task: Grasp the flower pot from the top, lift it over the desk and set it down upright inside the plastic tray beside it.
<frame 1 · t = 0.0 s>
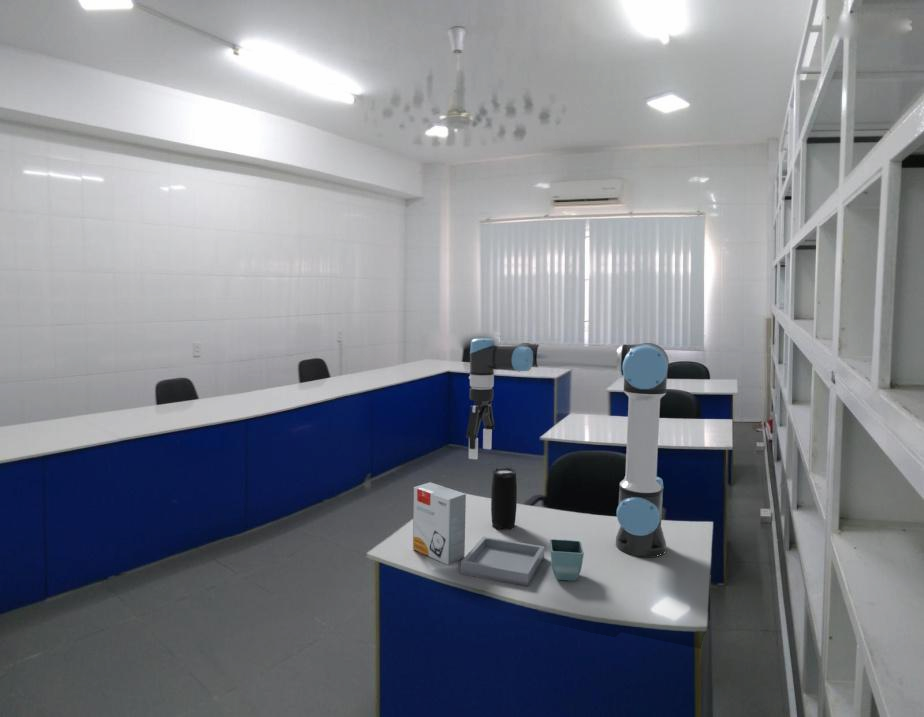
hand: (480, 453, 189), 28 cm above the table, tool pointing down, fingers open, 13 cm apart
flower pot: (565, 577, 166), on the table
tray: (503, 565, 172), on the table
portable speaker: (503, 526, 202), on the table
hard drive box: (438, 554, 180), on the table
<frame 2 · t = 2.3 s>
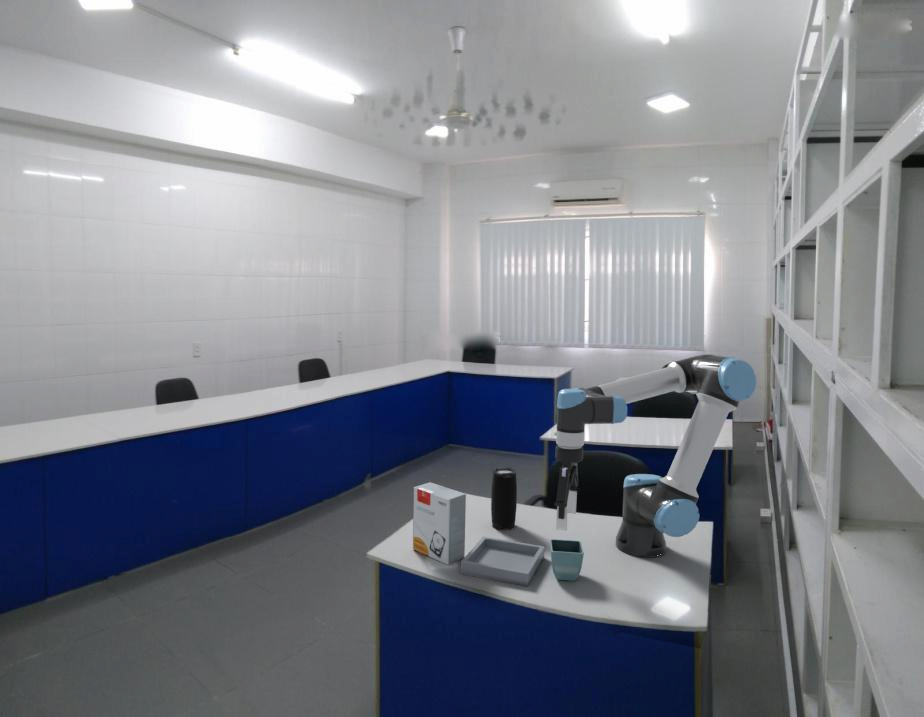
hand: (566, 521, 164), 16 cm above the table, tool pointing down, fingers open, 13 cm apart
nothing on the table moved.
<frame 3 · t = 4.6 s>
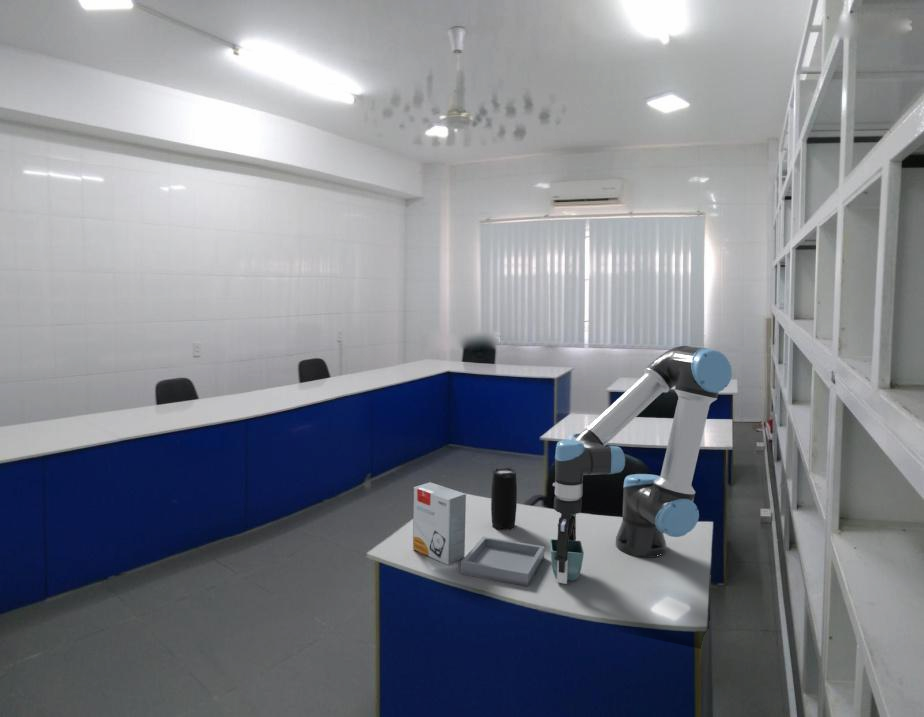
hand: (565, 574, 166), 1 cm above the table, tool pointing down, fingers closed on flower pot, 9 cm apart
flower pot: (565, 577, 166), on the table, touching gripper
everything else where it was.
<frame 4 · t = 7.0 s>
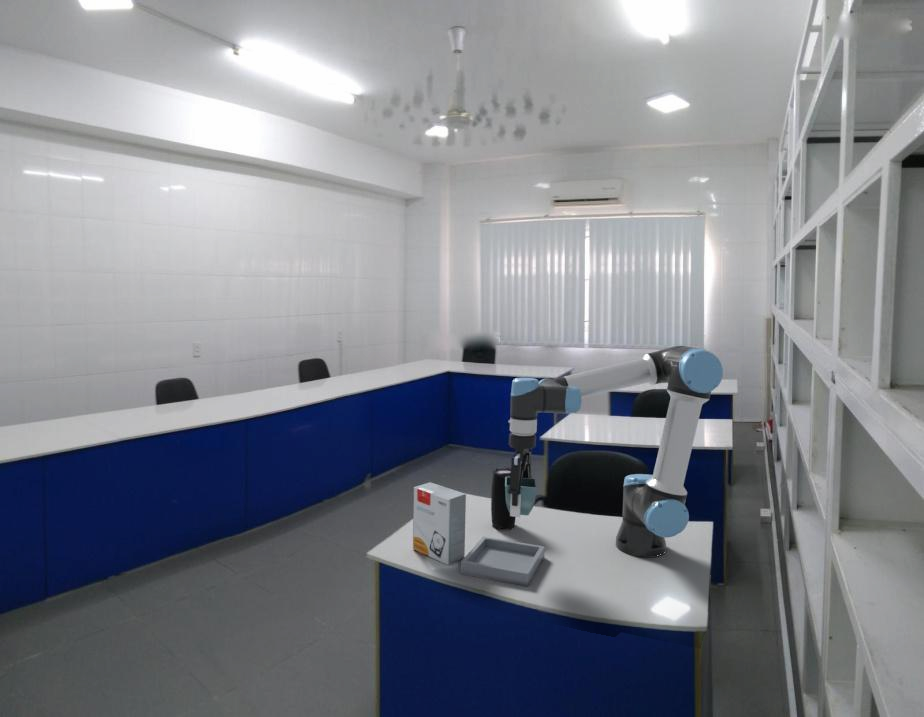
hand: (519, 510, 169), 17 cm above the table, tool pointing down, fingers closed on flower pot, 9 cm apart
flower pot: (519, 513, 169), point 16 cm above the table, touching gripper
everything else where it was.
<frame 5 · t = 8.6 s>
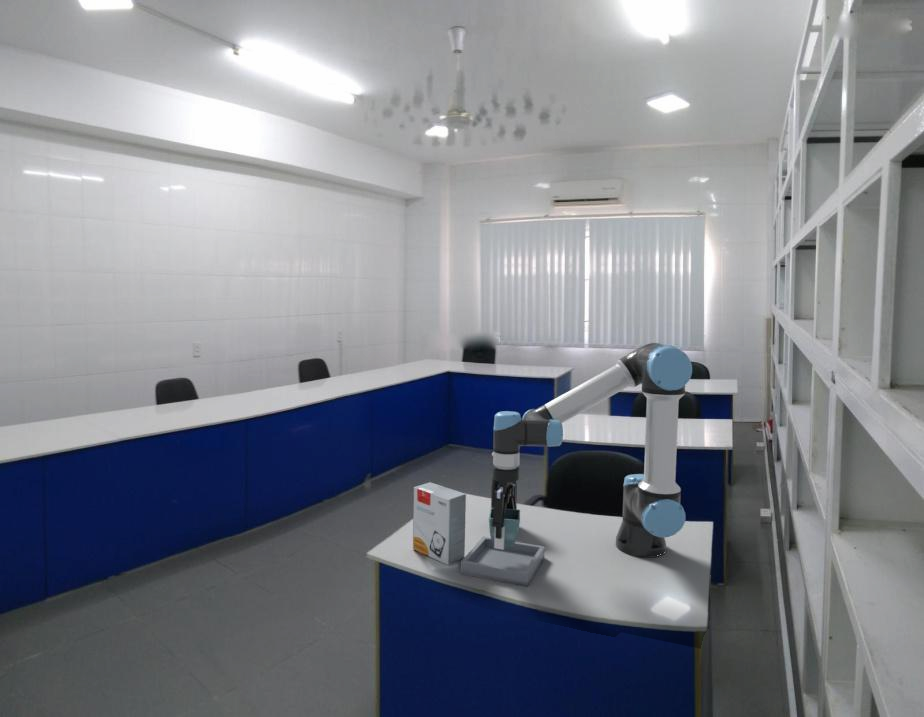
hand: (504, 541, 171), 7 cm above the table, tool pointing down, fingers closed on flower pot, 9 cm apart
flower pot: (504, 544, 172), point 6 cm above the table, touching gripper
everything else where it was.
when the fingers open (4 cm above the table, at t = 9.7 s): flower pot drops 2 cm, resting on tray.
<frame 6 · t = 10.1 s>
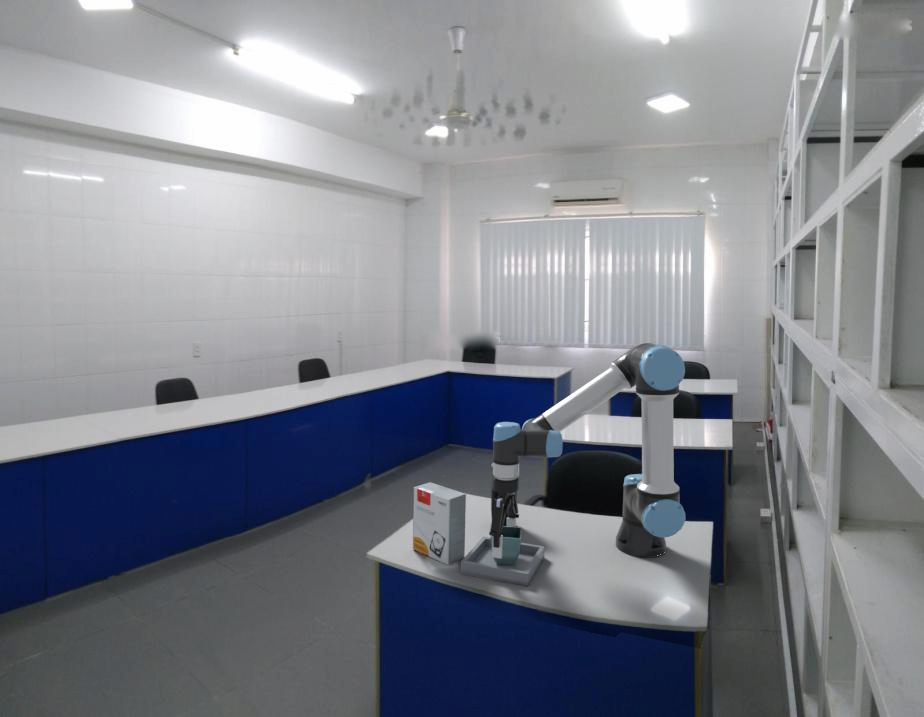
hand: (504, 548, 172), 5 cm above the table, tool pointing down, fingers open, 13 cm apart
flower pot: (505, 562, 173), point 1 cm above the table, touching tray
everything else where it was.
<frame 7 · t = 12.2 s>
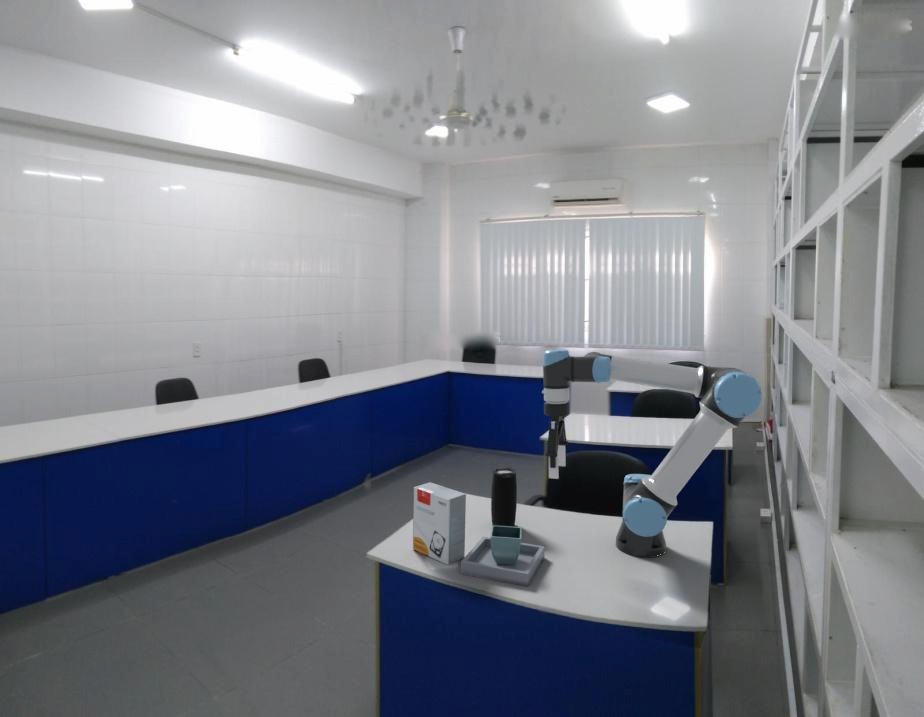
hand: (557, 471, 178), 26 cm above the table, tool pointing down, fingers open, 13 cm apart
nothing on the table moved.
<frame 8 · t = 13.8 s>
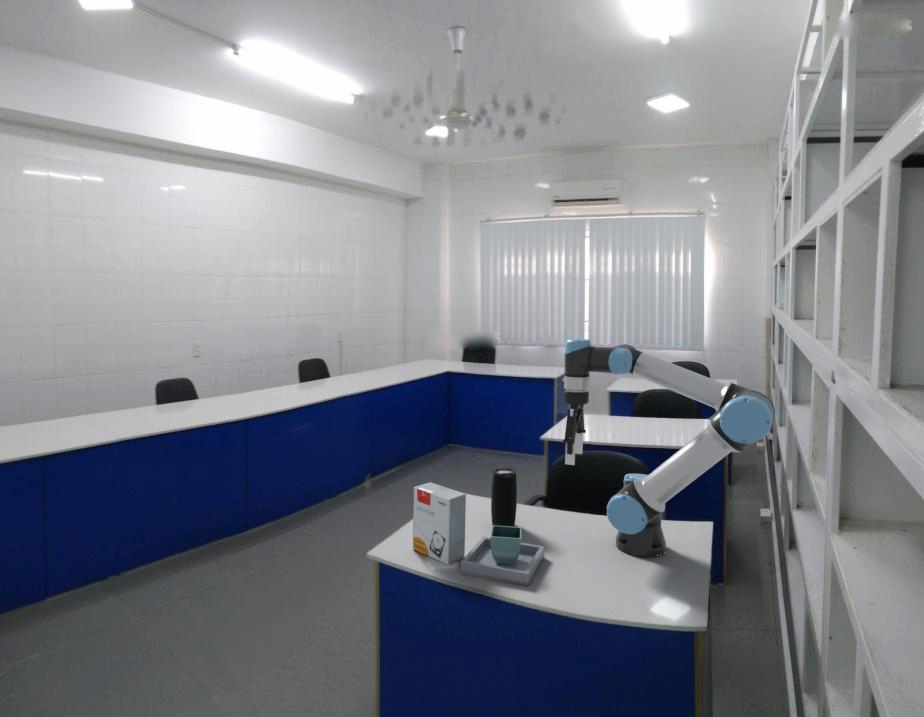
hand: (574, 458, 181), 29 cm above the table, tool pointing down, fingers open, 13 cm apart
nothing on the table moved.
at the end: flower pot inside the target area on the tray (0.8 cm from its centre), point 0.8 cm above the tray's base; flower pot tilted 0°; the gripper is holding nothing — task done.
